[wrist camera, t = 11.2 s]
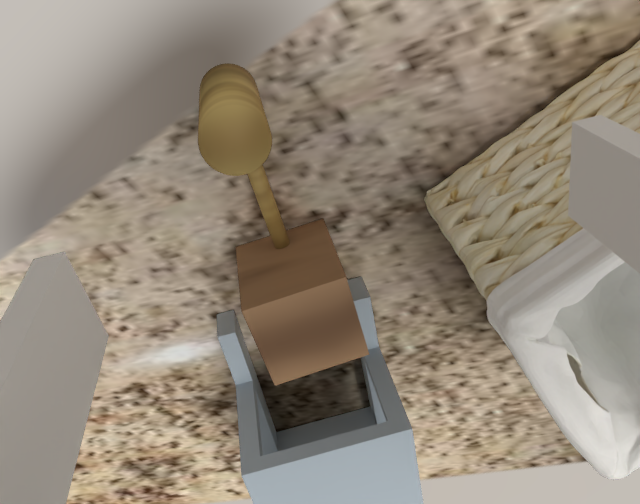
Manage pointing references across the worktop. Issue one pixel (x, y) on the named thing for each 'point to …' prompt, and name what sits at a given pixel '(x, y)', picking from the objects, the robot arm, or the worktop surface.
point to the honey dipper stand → (277, 244)
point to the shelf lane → (325, 434)
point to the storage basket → (556, 269)
